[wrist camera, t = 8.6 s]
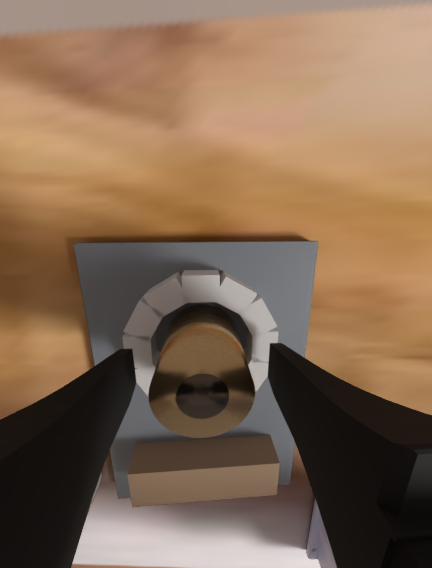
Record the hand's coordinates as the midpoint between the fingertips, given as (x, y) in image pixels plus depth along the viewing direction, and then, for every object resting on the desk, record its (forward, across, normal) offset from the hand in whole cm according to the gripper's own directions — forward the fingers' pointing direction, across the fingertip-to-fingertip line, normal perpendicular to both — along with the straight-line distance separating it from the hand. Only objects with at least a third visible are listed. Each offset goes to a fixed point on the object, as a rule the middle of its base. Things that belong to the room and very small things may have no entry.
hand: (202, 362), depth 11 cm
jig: (+4, 0, +4) cm, 5 cm away
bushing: (+3, 0, 0) cm, 3 cm away
